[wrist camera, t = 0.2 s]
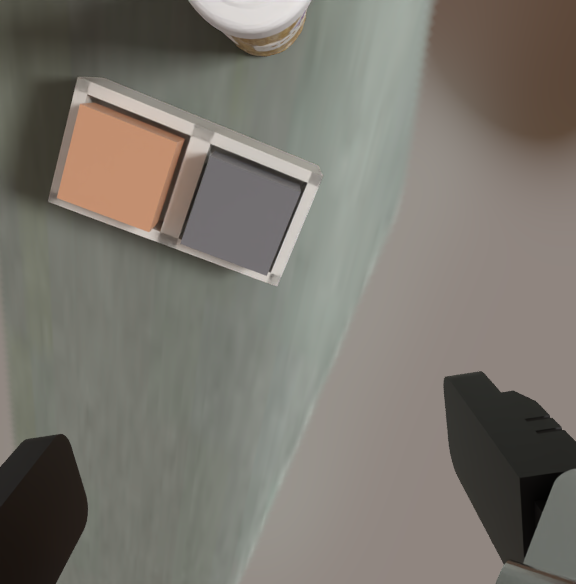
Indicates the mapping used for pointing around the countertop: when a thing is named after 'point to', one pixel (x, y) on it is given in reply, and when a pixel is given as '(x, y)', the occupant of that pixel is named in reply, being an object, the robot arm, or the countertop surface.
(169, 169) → the key terracotta
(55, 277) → the countertop surface
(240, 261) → the key charcoal
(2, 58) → the countertop surface
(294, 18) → the sprinkles bottle
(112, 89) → the keypad
